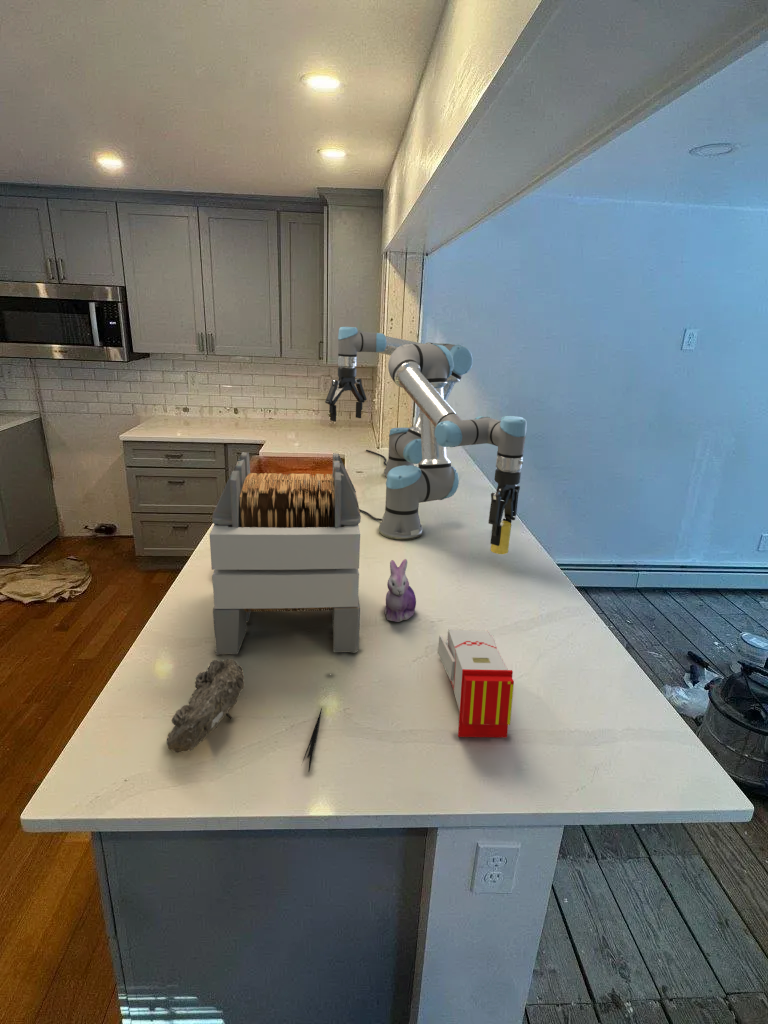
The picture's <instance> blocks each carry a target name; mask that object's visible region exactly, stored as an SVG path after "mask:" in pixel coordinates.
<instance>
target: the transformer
mask: <svg viewBox="0 0 768 1024" xmlns="http://www.w3.org/2000/svg"><path fill="white" fill-rule="evenodd" d="M250 461H251V459H250V452H249V451H248V452H244V451H241V453H240V456H239V457H238V459H237V461H236V464H235V465H234V468H233V469H232V471H231V473H230V475H229V477H228V479H227V482H226V484H225V486H224V487H223V490H222V492H221V495H220V497H219V499H218V501H217V504H216V506H215V508H214V511H213V512H212V515H211V519H212V520H211V521H212V524H213V526H212V528H211V530H210V532H209V547H210V549H209V550H210V563H211V565H210V566H211V570H213V572H212V576H211V577H212V580H211V581H212V594H213V608H212V619H213V633H214V640H215V651H214V653H215V656H217V655H218V656H222V655H239V651H240V649H241V646H242V643H243V642H244V639H245V636H246V634H247V630H248V629H247V628H248V627H247V623H248V622H249V621H250V617H251V613H253V612H255V613H256V612H258V613H261V612H262V613H264V612H266V613H267V612H307V611H308V612H312V611H313V612H317V611H319V612H321V611H323V612H326V611H331V619H332V644H333V653H353V654H356V652H358V651H359V650H360V629H361V628H360V625H361V605H360V596H359V587H360V586H359V585H360V571H359V569H360V554H361V551H360V549H361V532H360V531H361V530H360V525H359V524H360V523H361V518H362V516H361V511H359V509H360V507H359V505H360V504H359V500H358V497H357V490H356V489H355V487H354V484H353V482H352V480H351V477H350V476H349V473H348V470H347V469H346V466H345V465H344V462H343V460H342V458H341V456H340V453H337V452H332V473H326V474H324V473H316V474H311V473H288V474H287V473H286V474H285V473H281V472H280V473H277V472H275V473H273V472H272V473H271V472H270V473H267V472H264V473H263V472H260V473H257V472H251V464H250V463H251V462H250Z"/></svg>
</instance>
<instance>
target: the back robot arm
mask: <svg viewBox="0 0 768 1024" xmlns="http://www.w3.org/2000/svg"><path fill="white" fill-rule="evenodd" d="M337 343H338V344H337V366H338V367H337V378H338V379H337V380H336V379H331V385H330V388H329V391H328V393H327V396H326V398H325V401H324V402H325V404H327V405H328V406H329V410H328V411H329V413H330V421H332V422H334V423H335V422H337V405H336V404H337V402H338V401H339V398H340V397H341V395H342V394H343V393H344V392H347V391H351V393H352V395H353V396H354V398H355V400H356V401H355V418H356V419H362V411H363V406H364V405H363V404H365V401H367V400H368V398H367V396H366V395H367V394H366V392H365V389H364V387H363V384H362V383H363V382H362V379H361V378H359V377H357V362H358V361H357V360H358V359H357V358H358V353H376V354H381V355H387V356H391V354H392V353H393V351H394V350H395V349H396V348H398V347H399V346H401V345H404V344H424V343H422V342H418V341H413V340H407V339H403V338H397V337H393V336H386V335H385V334H384V333H383V332H369V331H363V330H358V327H356V326H340V327H339V328H338V335H337ZM425 344H437V345H443V346H445V347H446V348H447V349H448V350H449V351H450V353H451V355H452V358H453V371H452V374H451V376H450V377H448V378H447V384H446V385H445V386H444V388H443V398H444V400H445V401H446V402H447V401H448V399H449V398H450V395H451V393H452V391H453V388H454V387H455V384H457V383H460V381H461V380H462V378H463V376H464V375H466V374H468V373H469V372H470V371H471V369H472V367H473V365H474V358H473V354H472V351H471V350H470V349H469V348H468V347H466V346H463V345H460V344H453V343H436V342H430V341H427V342H426V343H425ZM365 452H367V453H370V454H374V455H376V456H379V457H381V458H382V459H383V465H384V466H385V468H384V469H383V476H384V477H385V478H386V479H387V474H388V472H389V471H390V470H391V469H393V468H395V467H398V466H404V465H406V466H409V465H412V466H415V465H418V463H419V462H420V461H421V460H422V445H421V427H420V412H419V414H418V415H417V418H416V420H415V422H414V424H413V426H410V427H391V429H389V434H388V455H387V456H388V459H387V458H386V456H384V455H382V454H381V453H378V452H375V451H372V450H368V449H366V450H365Z"/></svg>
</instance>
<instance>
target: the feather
mask: <svg viewBox="0 0 768 1024" xmlns="http://www.w3.org/2000/svg"><path fill="white" fill-rule="evenodd" d="M329 675H330V676H331V675H332V674H331V673H330V674H329ZM322 710H323V707H321V708H320V710H319V713H318V716H317V719H316V723H315V725H314V728H313V731H312V733H311V737H310V739H309V742H308V745H307V748H306V751H305V754H304V757H303V760H302V763H301V767H302V765H303V763H304V761H305V758H308V759H309V760H308V762H307V763H308V764H307V766H308V771H310V770H311V766H312V765H311V764H312V760H313V757H315V756H314V755H315V751H316V749H315V746H317V739H318V733H319V729H320V722H321V717H322V712H323V711H322ZM313 754H314V755H313ZM306 755H307V757H306Z"/></svg>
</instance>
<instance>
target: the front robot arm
mask: <svg viewBox="0 0 768 1024" xmlns="http://www.w3.org/2000/svg"><path fill="white" fill-rule="evenodd" d="M389 356H390V357H389V359H388V363H387V364H388V365H387V368H388V373H389V376H390V378H391V380H392V381H393V383H394V384H395V385H396V386H397V387H399V388H402V389H403V390H404V391H405V392H406V394H407V395H408V396H409V397H410V398H411V400H412V401H413V402H414V404H416V406H417V407H418V408H419V413H420V427H421V445H422V460H421V461H420V462H419V463H418V464H417V465H414V466H412V465H409V466H406V465H404V466H398V467H395V468H393V469H391V470H390V471H389V472H388V474H387V478H386V479H385V504H384V505H385V507H384V508H385V509H384V513H383V515H382V518H380V517H379V518H378V517H375V516H373V515H372V514H371V513H369V512H367V511H365V510H363V509H360V508H359V511H360V513H364V514H365V515H367V516H369V517H370V518H371V519H373V520H375V521H379V526H378V533H379V534H380V535H381V536H382V537H385V538H387V539H389V540H395V541H410V540H415V539H418V538H420V537H421V536H422V535H423V525H422V524H421V518H420V515H419V507H420V506H419V505H420V503H426V502H434V501H443V500H446V499H450V498H452V497H453V496H454V495H455V494H456V492H457V490H458V488H459V483H460V477H459V474H458V472H457V469H456V468H455V467H454V466H452V461H451V460H450V459H449V458H448V457H447V448H457V447H464V446H475V445H483V444H484V445H485V444H489V445H492V446H495V447H497V452H496V463H495V468H496V469H495V470H494V477H493V478H494V482H495V483H496V484H497V487H496V492H493V491H491V493H490V500H491V501H490V508H489V515H488V524H489V525H492V526H491V535H490V545H491V544H493V545H496V546H499V544H500V536H501V527H502V525H500V523H501V520H503V521H508V522H510V523H511V524H512V522H513V521H516V516H517V511H518V504H519V503H518V500H519V493H520V489H521V485H519V484H520V483H521V476H522V471H521V470H522V467H523V465H524V460H523V459H524V453H525V452H524V451H525V444H526V436H527V425H528V422H527V420H526V419H525V417H522V416H516V415H505V416H502V417H501V418H500V419H495V418H493V417H490V416H483V415H479V416H476V417H475V418H473V419H462V418H461V416H459V415H458V414H457V413H456V411H455V410H454V409H453V408H452V407H451V406H450V404H449V403H448V402H447V401H445V400H444V398H443V388H444V386H445V385H446V384H447V378H448V377H450V376H451V374H452V371H453V358H452V355H451V353H450V351H449V350H448V349H447V348H446V347H445V346H443V345H437V344H426V343H423V344H404V345H401V346H399V347H398V348H396V349H395V350H394V351H393V353H392V354H391V355H389ZM503 516H504V518H503Z"/></svg>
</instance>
